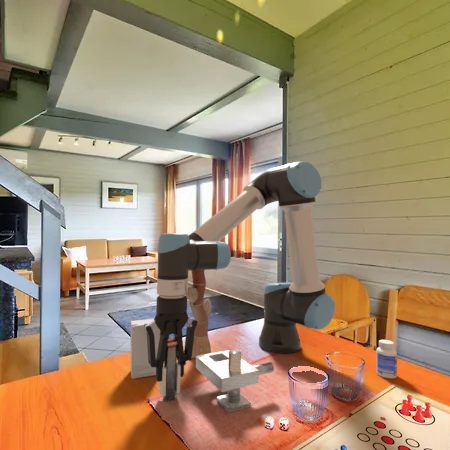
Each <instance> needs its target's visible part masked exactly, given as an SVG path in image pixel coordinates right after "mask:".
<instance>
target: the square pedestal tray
mask: <svg viewBox="0 0 450 450" xmlns="http://www.w3.org/2000/svg"><path fill="white" fill-rule="evenodd" d="M195 368H196V370H197V371H199V372H200V373H201V374H202V375H203V376H204V377H205V378H206V379H207V380H208V381H210V383H211V384H212V385H213V386H215V387H216V389H218V390H219V391H220V393H225V392H227V394H223V395H219V396H216V402H218V403H219V404H220V406H221V407H223V408H224V409H225V411H227V412H228V413H234V412H236V411H240V410H244V409H246V408H250V407H252V402H251V401H249V399H248V398H247V397H245V396H244V395H243V394H242V393H241V389H242V388H244V387H248V386H251V385H257V384H259V380H260V379H259V378H260V377H259V376H261V375H262V376H263V375H265V374H267V375H268V374H271V373H273V372H274V371H275V367H274V364H273V363H272V362H271V361H269V362H264V363H260V364H255V365H252V364H250V363H248V362H247V361H246V360H245V359H243V358H242V352H241V351H240V350H237V349H231V350H230V349H227V350H221V351H216V352H211V353H209V354H204V355H198V356H196V359H195Z"/></svg>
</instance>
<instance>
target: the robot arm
mask: <svg viewBox="0 0 450 450" xmlns="http://www.w3.org/2000/svg"><path fill="white" fill-rule="evenodd" d="M322 185H323V184H322V178H321V175H320V172H319V170H318V169H317V167H315V165H314V164H312V163H311V162H308V161H304V160H303V161H302V160H301V161H294V162H291V163H286V164H284V165H280V166H277V167H276V166H275V167H271V168H269V169H267V170H264V171H263V172H262V173H260V174H259V175H258V176H257V177H256V178H254V179H252V181H251V182H249V183H248V184H246V185H245V186H244V187H243V189H242V192H241V193H239V194H238V196H236V197H235V198H234V199H233V200H232V201H230V202H229V203H228V204H227V205H225V206H224V207H222V208H221V209H220V210H219V211H218V212H217V213H215V214H214V215H212V217H210V218H209V219H208V220H206V221H205V222H204V223H203V224H201V225H200V226H199V227H197V228H196V229H195V230H193V232H191V233H190V234H188V233H176V232H175V233H171V232H164V233H161V234H160V235H159V238H158V245H157V246H158V247H157V279H156V280H157V282H156V284H157V285H156V295H157V297H156V303H155V304H156V308H155V309H156V312H155V316H154V318H153V319H154V321H153V322H151V323H149V324H145V325H144V329H145V331H146V333H147V348H148V362H149V364H150V365H151V367H156V375H155V379H156V381H157V382H158V383H159V384H158V392H159V394H160V396H161V397H162V398H163V396H166V367H165V366H164V359H165V353H166V347H167V341H168V339H169V338H170V335H172V334H173V338H175V339H176V340H177V341H178V345H177V363H176V394H179V393H181V378H183V377H184V376H185V366H186V365H187V362H188V361H191V360H192V359H193V358H192V351H193V341H194V332H195V328H196V326H197V323H198V322H197V321H196V320H195V319H194V317H189V315H188V299H187V296H186V294H187V293H188V286H189V271H191V270H205V271H207V270H212V271H213V270H214V271H218V270H222V269H226V268H227V267H228V266H229V265H230V263H231V259H232V258H231V256H232V251H231V249H230V248H231V247H230V245H228V243H226V242H224V241H222V239H224V238H225V237H226V236H227V235H228V234H229V233H231V232H232V231H234V230H235V228H236V227H238V226H239V225H240V224H241V223H243V222H244V221H245V220H246V219H247V218H248V217H250V215H252V214H253V213H254V212H255V211H256V210H262V209H264V207H266V206H267V205H269V204H272V203H275V202H278V207H279V208H280V209H281V210H282V211H283V212H284V219H285V226H286V235H287V243H288V244H287V245H288V252H289V253H288V254H289V260H290V261H289V262H290V268H291V276H292V282H273V283H272V282H271V283H270V282H269V283H268V284H265V286H264V293H263V297H264V298H263V306H264V307H263V310H264V311H263V314H264V315H263V326H262V327H261V328H262V329H261V332H260V335H259V337H258V345H259V348H261V349H263V350H266V351H268V352H271V353H276V354H277V353H278V354H291V353H296V352H299V351H300V350H301V348H302V347H301V339H300V335H299V331H298V328H297V325H301V326H303V327H306V328H307V329H312V330H313V329H314V330H318V331H319V330H323V329H325V328H327V326H328V325H329V324H330V323H331V322H332V319H333V318H334V316H335V312H336V302H335V299H334V298H333V297H332V296H331V295H330V294H328V293H327V292H326V291H327V290H326V286H325V284H324V283H323V282H322V281H321V280H320V275H319V274H320V272H319V264H318V257H317V249H316V248H317V247H316V239H315V229H314V221H313V212H312V208H313V207H314V205H315V204H316V197H317V196H318V195H319V194H320V192H321V189H322ZM156 325H157V327H158V328H159V330H160V340H159V345H158V351H157V357H156V354H155V337H154V333H153V332H154V331H155V326H156ZM185 326H186V331H185V341H183V337H184V336H183V328H184V327H185Z"/></svg>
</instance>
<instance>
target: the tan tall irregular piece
mask: <svg viewBox="0 0 450 450" xmlns="http://www.w3.org/2000/svg"><path fill="white" fill-rule="evenodd" d="M190 271H191V278H192V285H188V293H187V294H186V295H185V296H187V301H189V307H190V310H191V313H192V316H193V317H192V318H193V319H195V320H196V321H197V322H198V323H197V326H196V328H195V332H194V341H193V351H192V359H195V360H196V356H198V355H204V354H209V353H212V349H211V343H210V338H209V316H210V314H211V312H212V302H211V300H210V298H205V291H206V286H207V280H206V275H205V271H206V270H190ZM204 298H205V299H204Z"/></svg>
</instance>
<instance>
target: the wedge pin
mask: <svg viewBox="0 0 450 450" xmlns="http://www.w3.org/2000/svg"><path fill="white" fill-rule="evenodd" d="M177 345H178V341H177V340H176V339H175V338H174V337H169V339H168V341H167V347H166V353H165V359H164V366H165V367H166V396H163V397H162V400H163V401H165V402H173V401H174V400H176V394H177V392H176V363H177V362H178V360H177Z"/></svg>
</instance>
